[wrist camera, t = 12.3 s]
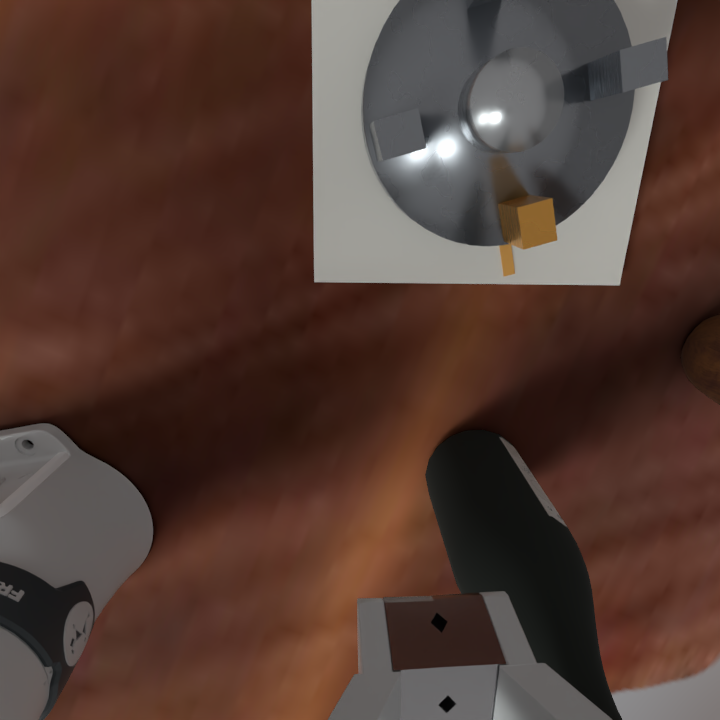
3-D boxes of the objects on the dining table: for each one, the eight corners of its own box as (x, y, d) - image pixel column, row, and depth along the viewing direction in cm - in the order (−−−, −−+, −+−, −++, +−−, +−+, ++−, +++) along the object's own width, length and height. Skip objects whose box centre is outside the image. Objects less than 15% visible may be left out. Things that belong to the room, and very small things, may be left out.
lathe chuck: (514, 282, 36) (548, 304, 31) (315, 161, 33) (312, 159, 27) (664, 61, 32) (737, 38, 26) (453, -108, 28) (484, -176, 23)
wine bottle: (520, 422, 42) (900, 927, 14) (512, 502, 45) (815, 1056, 17) (423, 426, 42) (617, 954, 14) (421, 507, 45) (578, 1081, 17)
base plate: (314, 277, 37) (314, 282, 35) (311, -104, 29) (310, -119, 28) (608, 281, 38) (620, 285, 37) (680, -83, 31) (697, -96, 29)
